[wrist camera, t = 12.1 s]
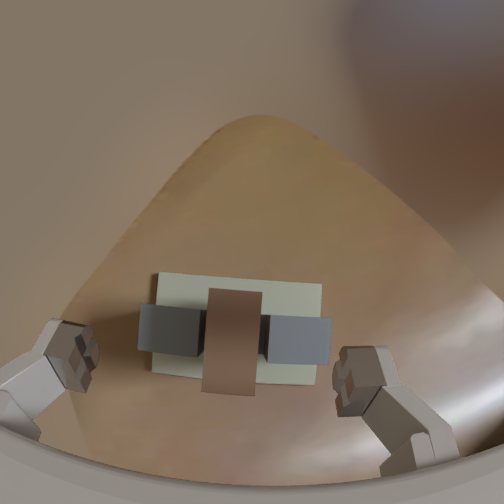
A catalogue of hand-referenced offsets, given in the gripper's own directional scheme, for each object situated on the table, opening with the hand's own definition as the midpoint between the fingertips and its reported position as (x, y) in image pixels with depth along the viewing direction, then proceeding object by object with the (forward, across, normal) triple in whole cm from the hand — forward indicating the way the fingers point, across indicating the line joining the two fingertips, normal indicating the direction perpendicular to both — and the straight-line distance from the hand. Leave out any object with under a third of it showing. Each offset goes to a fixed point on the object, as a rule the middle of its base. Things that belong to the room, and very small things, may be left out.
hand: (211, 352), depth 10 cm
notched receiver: (+16, 0, -16) cm, 22 cm away
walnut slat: (+13, 0, -13) cm, 18 cm away
